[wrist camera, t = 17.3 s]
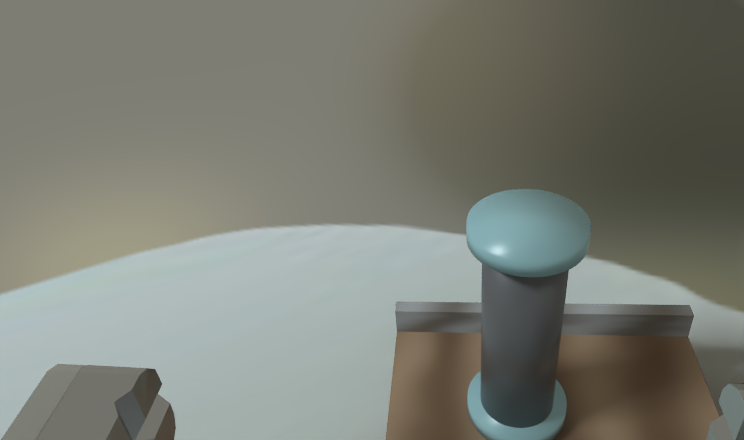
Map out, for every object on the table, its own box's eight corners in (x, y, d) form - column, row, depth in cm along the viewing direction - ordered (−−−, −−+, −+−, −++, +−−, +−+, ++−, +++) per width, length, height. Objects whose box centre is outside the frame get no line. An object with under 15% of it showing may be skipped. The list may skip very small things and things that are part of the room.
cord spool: (467, 447, 38) (466, 260, 30) (467, 369, 43) (466, 189, 35) (571, 452, 38) (600, 261, 29) (559, 372, 42) (581, 188, 34)
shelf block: (384, 535, 39) (376, 476, 35) (401, 359, 50) (396, 301, 46) (740, 556, 36) (770, 496, 32) (673, 365, 47) (689, 305, 44)
